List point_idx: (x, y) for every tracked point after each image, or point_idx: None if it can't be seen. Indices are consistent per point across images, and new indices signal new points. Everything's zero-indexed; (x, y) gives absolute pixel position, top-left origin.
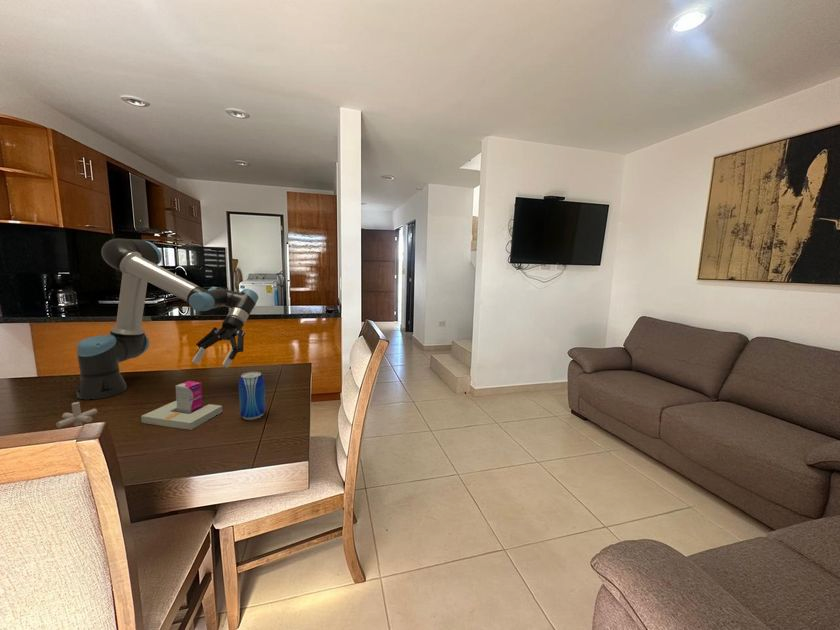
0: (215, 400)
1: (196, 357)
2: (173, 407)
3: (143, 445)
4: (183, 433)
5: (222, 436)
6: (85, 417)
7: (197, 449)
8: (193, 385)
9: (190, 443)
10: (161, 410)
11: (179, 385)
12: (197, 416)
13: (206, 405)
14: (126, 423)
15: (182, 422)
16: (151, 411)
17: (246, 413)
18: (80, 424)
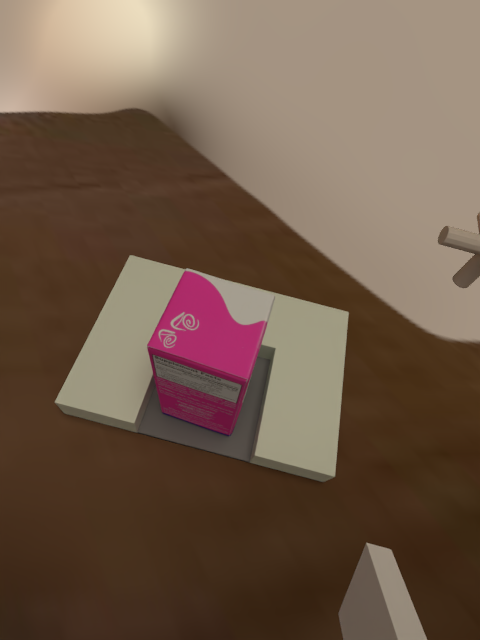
0: (162, 579)
1: (382, 612)
2: (285, 384)
3: (222, 209)
4: (147, 255)
5: (7, 231)
6: (456, 228)
7: (62, 182)
8: (172, 299)
9: (96, 207)
10: (312, 355)
11: (253, 295)
12: (129, 300)
13: (140, 407)
14: (384, 324)
15: (165, 266)
16: (344, 347)
17: None
18: (469, 262)
